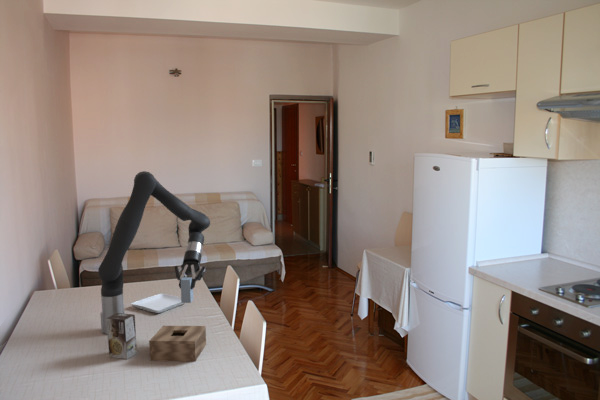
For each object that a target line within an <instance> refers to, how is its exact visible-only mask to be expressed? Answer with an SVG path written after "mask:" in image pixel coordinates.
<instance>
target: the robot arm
mask: <svg viewBox="0 0 600 400" xmlns="http://www.w3.org/2000/svg"><path fill="white" fill-rule="evenodd" d="M132 186H133V187H132V190H131V194H130V196H129V200H128V202H127V203H126V205H125V207H124V208H123V210H122V212H121V213H120V215H119V217H118V219H117V223H116V225H115V228H114V231H113V233H112V237H111V239H110V242H109V247H108V250H107V252H106V254H105V255H104V258H103V259H102V261H101V263H100V265H99V267H98V270H97V272H98V277H99V278H100V280H101V287H100V295H101V296H100V297H101V311H100V313H99V315H100V326H101V334H105V335H108V332H107V320H106V318H108V317H110V316H112V315H113V314H116V313H123V314H125V304H124V268H123V261H124V257H125V256H126V253H127V251H128V250H129V248H130V246H131V245H132V243H133V241H134V239H135V237H136V235H137V233H138V230H139V228H140V225H141V222H142V219H143V216H144V213H145V209H146V205H147V203H148V201H149V199H150V197H151V196H152V197H153V198H154V199H156V200H157V201H158V202H159V203H161V204H162V206H164V207H165V208H166V209H167V210H168V211H169V212H170V213H172V214H173V215H174V216H175V217H177V218H178V219H179V220H181V221H182V222H185V221H186V222H187V221H190V222H189V225H188V228H187V229H188V240H187V245H186V248H185V251H184V256H183V261H182V263H181V265H180V266H177V265H176V266H174V271H175V278H176V279H177V280H178V287H179V289H180V290H181V279H182V278H183V277H188V275H190V276H192V278H193V279H192V281H191V286H190V287H191V289H193V290H194V288H195V287H196V282H197V281H201V280H202V278H203V276H204V274H206V271H207V270H206V267H205V266H201V262H202V256H203V247H204V243H205V236H204V234H203V233H202V232H204V231H206V230H207V229H208V228H209V227H210V225H211V220H210V217H209V216H207V215H206V214H205V213H203V212H201V211H199V210H196V209H194V208H192V207H190V206H189V205H188V204H187V203H185V202H184V201H183V200H181V199H180V198H179V197H177V196H176V195H174V194H173V193H171V192H170V191H169V190H168V189H167V188H166V187H164V186H163V185H162V184H161V182H159V181H158V179H156V177H155V175H154V174H153V173H152V172H149V171H145V170H143V171H139V172H138V173H136V175H135V176H134V178H133V185H132ZM181 270H182V271H181ZM198 271H199V272H198ZM180 272H181V273H180ZM197 272H198V274H197Z"/></svg>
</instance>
